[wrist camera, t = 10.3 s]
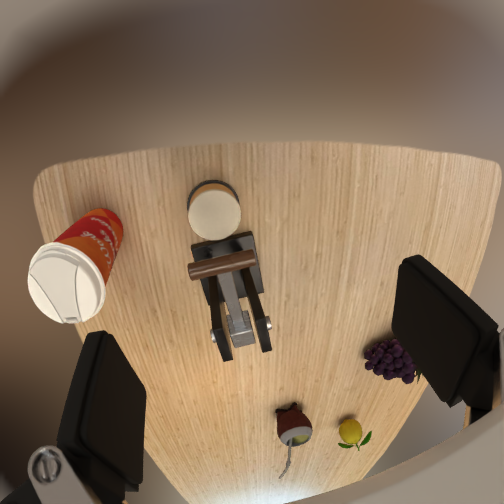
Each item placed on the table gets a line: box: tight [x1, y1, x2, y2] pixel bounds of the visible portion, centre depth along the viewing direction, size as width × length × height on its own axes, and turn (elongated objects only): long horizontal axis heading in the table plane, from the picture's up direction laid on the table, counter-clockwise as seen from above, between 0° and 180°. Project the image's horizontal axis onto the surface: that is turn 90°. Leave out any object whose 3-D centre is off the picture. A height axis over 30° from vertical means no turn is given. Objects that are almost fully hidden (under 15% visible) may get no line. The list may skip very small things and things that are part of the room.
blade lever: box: [188, 249, 257, 348], centre depth 27 cm, size 12×5×2 cm, turn 11°
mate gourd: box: [276, 402, 312, 479], centre depth 52 cm, size 8×8×15 cm
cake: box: [187, 180, 241, 240], centre depth 36 cm, size 6×6×4 cm
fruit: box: [364, 339, 423, 384], centre depth 51 cm, size 10×11×15 cm
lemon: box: [338, 419, 372, 451], centre depth 61 cm, size 7×6×10 cm
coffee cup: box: [28, 208, 123, 323], centre depth 30 cm, size 8×8×15 cm
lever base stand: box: [191, 231, 272, 362], centre depth 35 cm, size 9×8×15 cm
